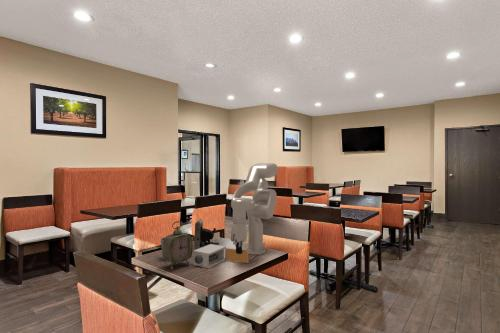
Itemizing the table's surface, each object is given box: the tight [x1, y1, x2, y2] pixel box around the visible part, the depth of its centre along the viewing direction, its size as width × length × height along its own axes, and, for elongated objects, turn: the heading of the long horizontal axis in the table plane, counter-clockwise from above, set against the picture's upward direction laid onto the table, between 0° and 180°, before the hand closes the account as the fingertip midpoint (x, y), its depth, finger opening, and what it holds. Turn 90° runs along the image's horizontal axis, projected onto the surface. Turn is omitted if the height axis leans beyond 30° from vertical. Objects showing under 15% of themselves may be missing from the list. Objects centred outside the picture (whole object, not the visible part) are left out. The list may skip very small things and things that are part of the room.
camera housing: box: [192, 244, 227, 269], centre depth 169 cm, size 18×11×8 cm, turn 150°
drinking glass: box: [160, 237, 168, 262], centre depth 177 cm, size 10×10×12 cm
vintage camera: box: [193, 219, 220, 251], centre depth 194 cm, size 10×15×20 cm, turn 89°
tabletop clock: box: [163, 220, 194, 271], centre depth 163 cm, size 14×9×25 cm, turn 139°
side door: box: [224, 247, 250, 264], centre depth 171 cm, size 15×2×7 cm, turn 68°
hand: (238, 253), depth 167 cm, fingers closed
